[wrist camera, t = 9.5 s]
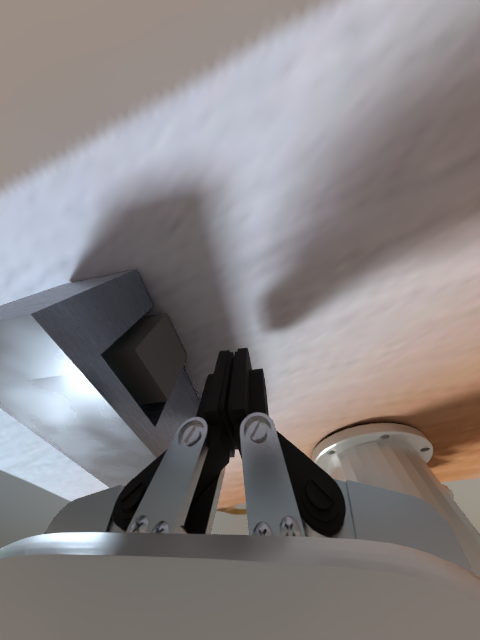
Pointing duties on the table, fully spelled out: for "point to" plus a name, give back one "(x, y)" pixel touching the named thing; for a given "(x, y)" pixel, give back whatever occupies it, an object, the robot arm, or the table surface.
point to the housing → (85, 377)
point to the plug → (147, 359)
